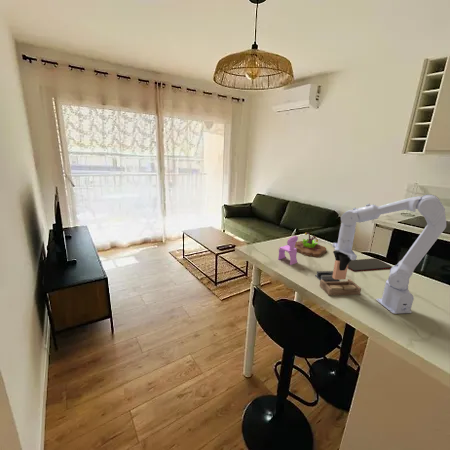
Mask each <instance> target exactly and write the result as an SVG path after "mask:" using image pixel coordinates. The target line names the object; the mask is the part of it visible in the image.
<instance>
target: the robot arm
mask: <svg viewBox="0 0 450 450" xmlns="http://www.w3.org/2000/svg"><path fill="white" fill-rule="evenodd" d="M405 210H406V211H409V212H413V213H416V211H418V212H419V213H420V215H422V217H424V220H425V221H426V225H425V227H424V229H423V230H422V231H421V232H420V234H419V235H418V237H417V238H416V239H415V241H414V242H413V243H412V245H411V246H410V247H409V249H408V251H407V252H406V253H405V255H404V256H403V257H402V258H401V260H399V261H398V262H397V264H395V265H393V266H392V268H391V269H389V276H388V278H387V279H386V281H385V285H384V287H383V292H382V296H381V298H376V299H375V300H376V301H377V302H378V303H379V304H380V305H382V306H383V307H384V308H385V309H387V311H389V312H390V313H391V314H392V315H394V314H397V315H398V314H412V313H413V312H412V310H411V309H412V306H413V304H414V303H413V302H414V299H415V298H414V295H413V294H412V292H410V290H409V284H410V278H411V277H412V275H413V273H414V272H415V269H416V268H417V266H418V265H419V263H420V262H421V261H422V259H423V258H424V257H425V256H426V255H427V253H428V252H429V250H430V249H431V248H432V246H433V245H435V242H437V240H438V239H439V237H440V236H441V235H442V233H443V232H444V231H445V229H447V217H446V208H445V207H444V204H442V202H441V201H440V199H439V198H438V197H437V196H436V195H434V194H425V195H418V196H412V197H408V198H404V199H399V200H397V201H392V202H388V203H387V204H386V203H385V204H382V205H376V204H374V203H373V204H371V203H367V204H365V206H360V207H357V208H356V207H353V208H352V209H348V210H346V211H344V212H342V214H341V216H340V222H341V224H340V226H339V232H338V239H337V242H333V243H332V245H331V247H332V248H334V249H333V251H332V253H333V255H334V258H335V260H340V266H339V268H340V270H345V269H346V267H347V265H348V263H349V262H350V261H351V260H357V257H358V255H357V254H355V252H354V251H353V245H354V241H355V240H354V239H355V235H356V227H357V223H364V222H369V221H373V220H377V219H379V217H380V216H381V215H384V214H389V213H394V212H399V211H405Z"/></svg>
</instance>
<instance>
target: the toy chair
mask: <svg viewBox="0 0 450 450" xmlns="http://www.w3.org/2000/svg"><path fill="white" fill-rule="evenodd" d="M298 241H299V236H297V235H293V236H292V237H289V238H288V239H287V242H286V243H287V244H286V245H283V246H280V247H279V248H278V257H277V259H278V261H279V260H282V259H285V258H287V257H286V253H287V254H289V258H290V259H289V260H290V261H289V265H290V266H292V265H295V264H297V263H298V260H297V253H298V252H297V249H296V248H295V244H296V242H298Z"/></svg>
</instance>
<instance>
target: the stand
mask: <svg viewBox="0 0 450 450" xmlns="http://www.w3.org/2000/svg"><path fill="white" fill-rule="evenodd" d="M314 276H315V278H317V280H318V281H320V280H323V281H324V282H336V281H340V280H341V279H334V278H332V276H333V270H324V271H323V270H318V271H316V274H314Z"/></svg>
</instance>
